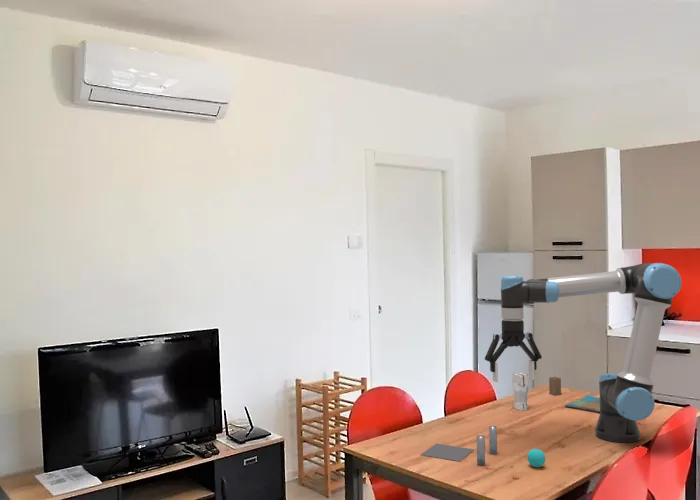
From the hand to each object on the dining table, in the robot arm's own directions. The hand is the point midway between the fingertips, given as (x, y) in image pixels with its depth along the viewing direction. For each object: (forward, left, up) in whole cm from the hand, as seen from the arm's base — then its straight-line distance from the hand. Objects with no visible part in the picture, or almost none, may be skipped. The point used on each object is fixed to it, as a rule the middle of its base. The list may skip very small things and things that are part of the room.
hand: (513, 380), depth 215 cm
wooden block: (+5, -89, -23) cm, 92 cm away
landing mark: (+18, +17, -23) cm, 34 cm away
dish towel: (-15, -74, -24) cm, 79 cm away
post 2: (+4, +11, -23) cm, 26 cm away
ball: (-12, +17, -20) cm, 29 cm away
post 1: (+4, +23, -23) cm, 33 cm away
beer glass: (+12, -54, -23) cm, 60 cm away
